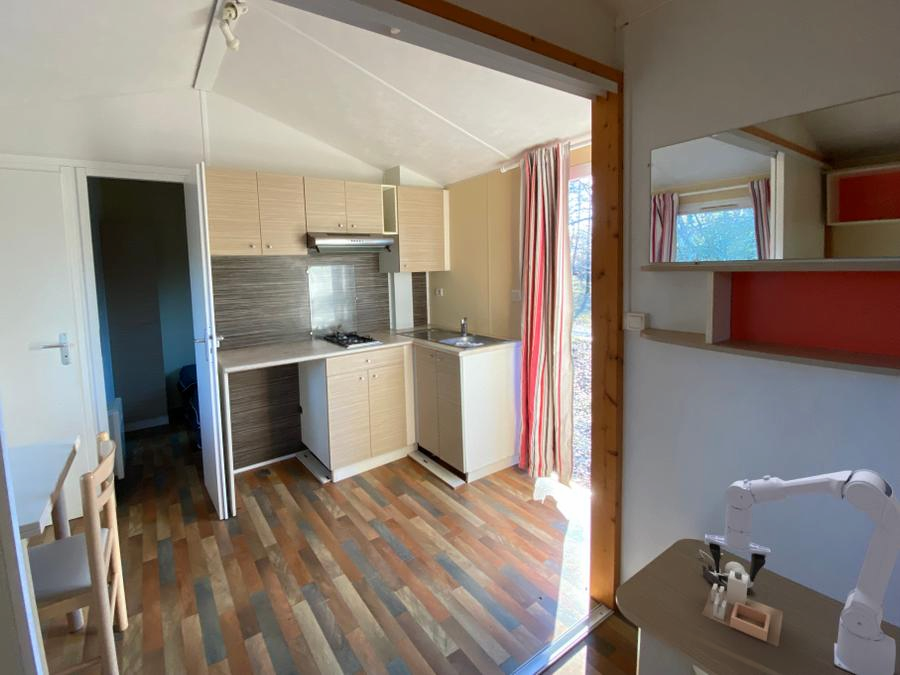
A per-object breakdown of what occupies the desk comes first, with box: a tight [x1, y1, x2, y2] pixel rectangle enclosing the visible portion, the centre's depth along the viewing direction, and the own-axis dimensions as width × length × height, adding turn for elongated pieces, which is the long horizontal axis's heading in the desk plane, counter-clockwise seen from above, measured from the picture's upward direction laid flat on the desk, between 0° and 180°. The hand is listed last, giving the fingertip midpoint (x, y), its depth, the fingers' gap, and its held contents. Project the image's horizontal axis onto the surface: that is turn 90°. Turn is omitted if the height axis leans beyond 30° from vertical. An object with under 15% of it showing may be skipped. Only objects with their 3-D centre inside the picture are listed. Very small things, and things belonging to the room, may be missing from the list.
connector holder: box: [730, 602, 770, 642], centre depth 112 cm, size 7×7×2 cm
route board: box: [701, 586, 784, 648], centre depth 116 cm, size 16×15×1 cm
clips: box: [711, 583, 727, 620], centre depth 118 cm, size 4×9×3 cm, turn 140°
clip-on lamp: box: [699, 549, 755, 589], centre depth 132 cm, size 12×6×18 cm
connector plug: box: [726, 571, 748, 605], centre depth 120 cm, size 4×4×8 cm
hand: (734, 575), depth 119 cm, fingers open, 7 cm apart
